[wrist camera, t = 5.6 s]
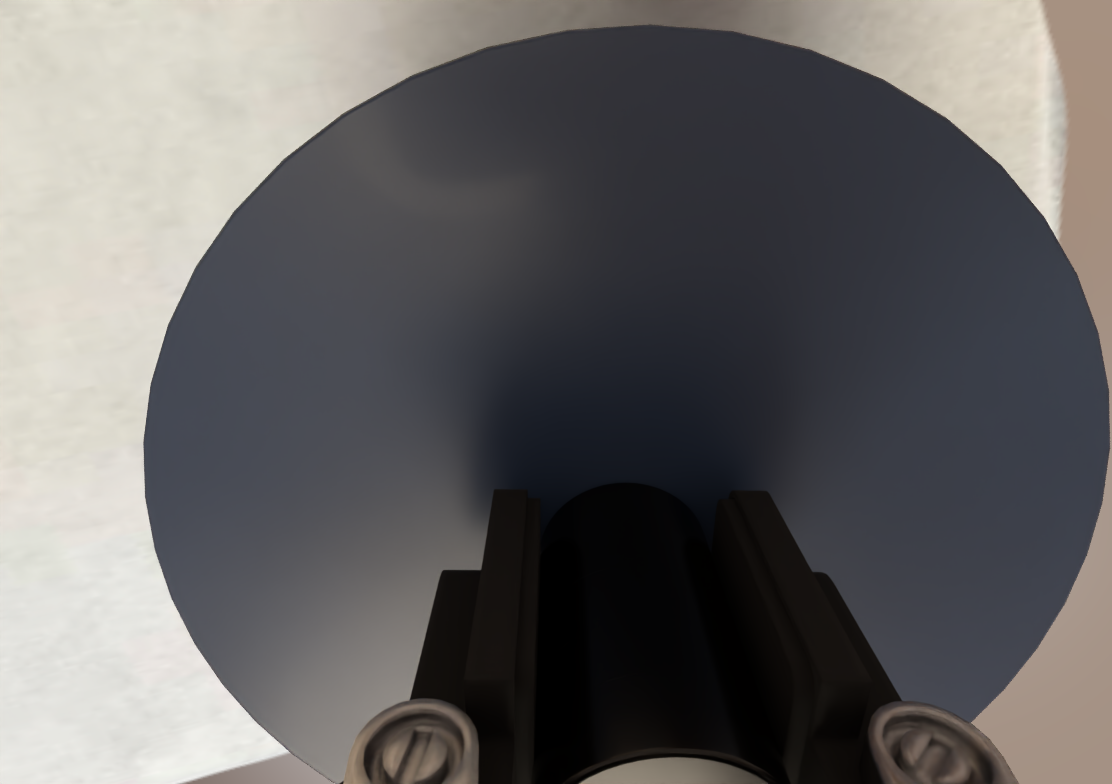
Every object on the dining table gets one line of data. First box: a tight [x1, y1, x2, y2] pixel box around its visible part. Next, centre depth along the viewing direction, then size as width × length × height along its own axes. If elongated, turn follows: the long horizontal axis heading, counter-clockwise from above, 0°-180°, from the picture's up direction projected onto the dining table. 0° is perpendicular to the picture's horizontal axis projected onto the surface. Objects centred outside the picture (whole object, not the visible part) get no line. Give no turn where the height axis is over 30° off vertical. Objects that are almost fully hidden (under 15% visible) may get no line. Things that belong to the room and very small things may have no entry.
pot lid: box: [144, 24, 1110, 784], centre depth 10 cm, size 16×16×6 cm
